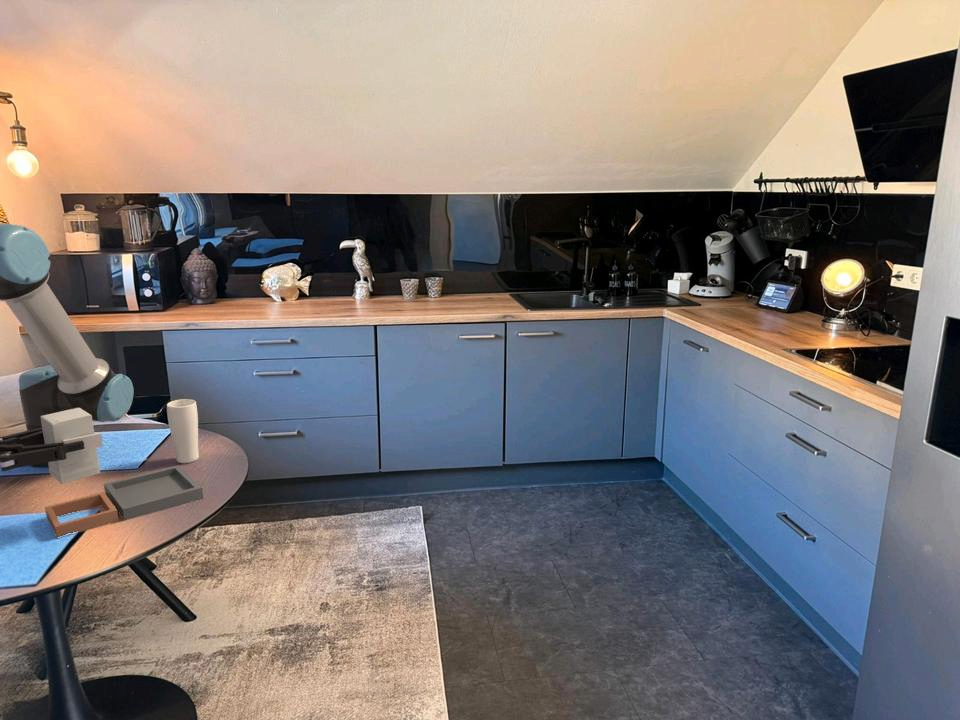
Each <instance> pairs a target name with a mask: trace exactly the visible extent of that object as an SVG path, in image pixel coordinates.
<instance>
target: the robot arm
mask: <svg viewBox="0 0 960 720" xmlns="http://www.w3.org/2000/svg"><path fill="white" fill-rule="evenodd" d="M50 253H51V252H50V250H49V247H48V246H47V244H46V242H45V241H44V239H43V238H42V237H41V236H40V235H39V234H38V233H37V232H35V231H34V230H32V229H30V228H29V227H26V226H23V225H17V224H12V223H6V222H5V223H3V222H2V223H1V222H0V302H5V304H6V305H7V306H8V308H9V309H10V311H11V312H12V313H13V314H14V316H15V317H16V319H17V320H18V322H19V323H20V324H21V326H22V327H23V329H24V330H25V331H26V333H27V334H28V335H29V337H30V339H31V340H32V341H33V343H34V344H35V345H36V347H37V348H38V350H39V351H40V353H41V354H42V355H43V356H44V358H45V359H46V361H48V363H49V364H50V365H44V366H39V367H36V368H32V369H29V370H27V371H24V372H23V373H21V374H20V375H19V377H18V385H19V387H18V391H19V397H20V401H21V406H22V411H23V415H24V421H25V422H24V423H25V427H26V430H25V431H22V432H17V433H13V434H9V435H4V436H3V435H2V436H0V469H1V471H2V472H7V471H10V470H11V471H12V470H13V469H17V468H18V469H19V468H22V467H29V466H30V467H39V468H41V467H49V465H48V462H52V461H58V460H65V459H67V458H66V454H70V453H74V452H79V451H83V450H88V449H92V448H97V449H98V448H100V447H103V446H104V445H103V438H102V437H103V436H102V433H101V432H96V433H95V432H94V434H90V435H86V436H81V437H76V438H71V439H66V440H63V443H52V444H45V442H44V436H43V430H42V424H41V416H43V415H48V414H52V413H57V412H61V411H65V410H70V409H75V408H81V409H82V410H84V411H85V412H87V413H89V414H90V415H92V422H99V423H105V422H110V423H111V422H117V421H120V420H121V419H123V417H125V416H126V415H127V414H128V411H130V409H131V406H132V404H133V399H134V393H135V392H134V390H135V389H134V386H133V382H132V379H130V377H128V376H127V375H125V374H123V373H115V372H114V371H113V370H112V368H111V366H110V364H109V363H108V362H107V361H106V360H104V359H103V358H98V357H97V358H96V356H95V354H94V353H93V352H92V350H91V348H90V347H89V345H88V344H87V342H86V341H85V339H84V338H83V336H82V335H81V333H80V332H79V330H78V328H77V327H76V326H75V324H74V322H73V321H72V320H71V318H70V316H69V314H67V312H66V310H65V309H64V307H63V306H62V304H61V302H60V301H59V299H58V298H57V297H56V295H55V293H54V292H53V291H52V289H51V287H50V286H49V284H48V281H49V278H50V272H49V270H50V268H51V260H49V258H50V256H51V254H50Z"/></svg>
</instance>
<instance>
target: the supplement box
mask: <svg viewBox="0 0 960 720" xmlns="http://www.w3.org/2000/svg"><path fill="white" fill-rule="evenodd" d="M93 422H94V421H92V415H90V414H89V413H87V412H85V411H84V410H82V409H81V408H75V409H70V410H65V411H61V412H57V413H52V414H48V415H43V416H41V424H42V430H43V436H44V442H45V444H52V443H63V440H66V439H71V438H76V437H81V436H86V435H90V434H95V429H94V423H93ZM66 458H67V459H65V460H58V461H52V462H48V465H49V466H48V471H49V475H51V477H53V478H54V479H55V480H56V481H58V483H60V484H67V483H70V482H71V483H72V482H74V481H78V480H81V479H85V478H88V477H92V476H96V475H99V474H101V469H100V463H99V455H98V447H97V448H92V449H88V450H83V451H79V452H74V453H70V454H66Z"/></svg>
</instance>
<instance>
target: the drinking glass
mask: <svg viewBox="0 0 960 720" xmlns="http://www.w3.org/2000/svg"><path fill="white" fill-rule="evenodd" d="M166 412H167V413H166V415H167V420H168V421H167V422H168V427H169V431H170V434H171V439H172V444H173V449H174V454H175V460H176V462H178V463H179V464H190V463H193V462H195V461H197V460H199V457H200V453H199V415H198V406H197V401H196V400H194V399H190V398H189V399H188V398H182V399H181V398H180V399H175V400H172V401H169V402H168V403H167V404H166Z"/></svg>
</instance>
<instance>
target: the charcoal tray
mask: <svg viewBox="0 0 960 720" xmlns="http://www.w3.org/2000/svg"><path fill="white" fill-rule="evenodd" d="M103 486H104V493H105V494H106V496H107V497H108V498H109V500H110V501H111V502H112V504H113V505H114V506H115V508H116V509H117V513H118V514H119V513H120V514H119V515H120V517H122V519H123V520H124V521H127V519H128V520H131V519H135V518H139V517H141V516H146V515H148V514H153V513H156V512H159V511H162V509H163V510H166V509H169V507H170V508H173V507H176V506H180V505H183V504H188V503H190V502H194V501H198V500H200V498H201V499H204V493H203V491H204V490H203V487H202V486H201V485H200V484H199V483H197V480H196V479H194V478H193V477H192V476H191V475H190V474H189V473H188V472H187V471H185V470H184V469H183V468H182V467H181V465H179V464H178V465H174V466H170V467H165V468H162V469H161V468H160V469H158V470H153V471H149V472H146V473H141V474H138V475H134V476H130V477H126V478H122V479H117V480H113V481H110V482H106V483H103ZM197 499H198V500H197ZM193 500H194V501H193ZM165 508H166V509H165ZM158 510H159V511H158ZM155 511H156V512H155Z"/></svg>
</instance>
